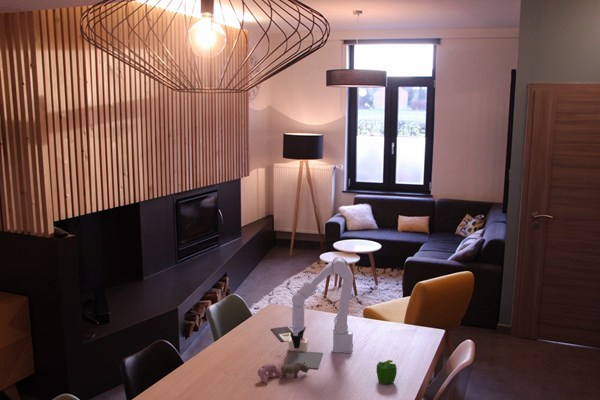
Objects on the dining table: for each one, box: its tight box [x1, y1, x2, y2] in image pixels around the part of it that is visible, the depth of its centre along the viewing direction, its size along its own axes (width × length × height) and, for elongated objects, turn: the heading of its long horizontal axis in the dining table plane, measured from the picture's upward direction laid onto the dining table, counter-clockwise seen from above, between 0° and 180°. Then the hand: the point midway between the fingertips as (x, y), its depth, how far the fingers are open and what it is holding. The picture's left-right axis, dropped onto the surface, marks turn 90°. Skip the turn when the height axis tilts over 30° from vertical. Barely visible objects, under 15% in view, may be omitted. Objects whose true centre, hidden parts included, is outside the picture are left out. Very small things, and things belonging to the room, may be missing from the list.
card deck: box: [288, 337, 309, 351], centre depth 269 cm, size 8×5×5 cm, turn 80°
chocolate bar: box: [270, 326, 293, 343], centre depth 287 cm, size 9×1×18 cm
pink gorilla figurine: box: [256, 363, 282, 385], centre depth 237 cm, size 10×5×7 cm, turn 141°
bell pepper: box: [376, 359, 398, 386], centre depth 234 cm, size 8×8×10 cm
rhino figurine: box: [280, 362, 311, 381], centre depth 239 cm, size 4×14×6 cm, turn 111°
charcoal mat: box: [284, 350, 324, 370], centre depth 256 cm, size 15×17×1 cm
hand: (298, 344), depth 269 cm, fingers open, 7 cm apart
